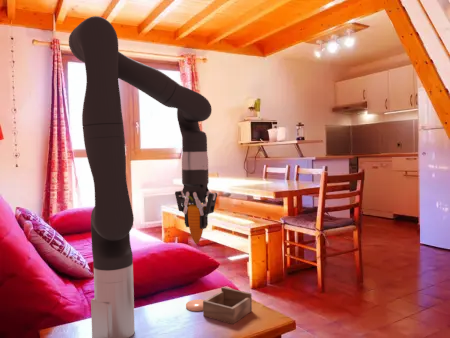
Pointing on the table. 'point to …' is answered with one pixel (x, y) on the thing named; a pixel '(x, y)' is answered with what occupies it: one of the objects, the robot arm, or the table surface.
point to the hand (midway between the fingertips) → (196, 227)
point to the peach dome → (195, 305)
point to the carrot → (194, 221)
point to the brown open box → (228, 305)
